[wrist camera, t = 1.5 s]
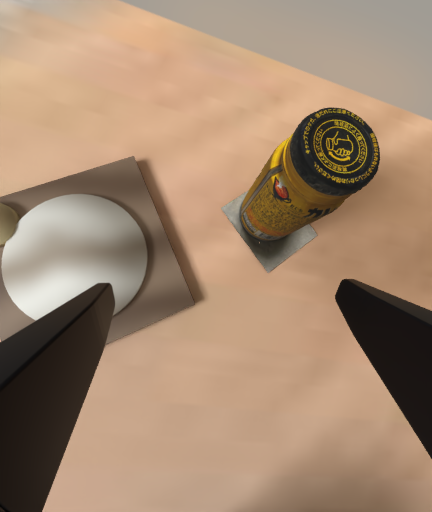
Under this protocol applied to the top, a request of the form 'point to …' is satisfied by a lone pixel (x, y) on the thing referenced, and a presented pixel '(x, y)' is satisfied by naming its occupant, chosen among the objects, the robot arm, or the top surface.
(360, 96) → the top surface
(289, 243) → the condiment
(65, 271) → the brown flat square slab
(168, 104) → the top surface
